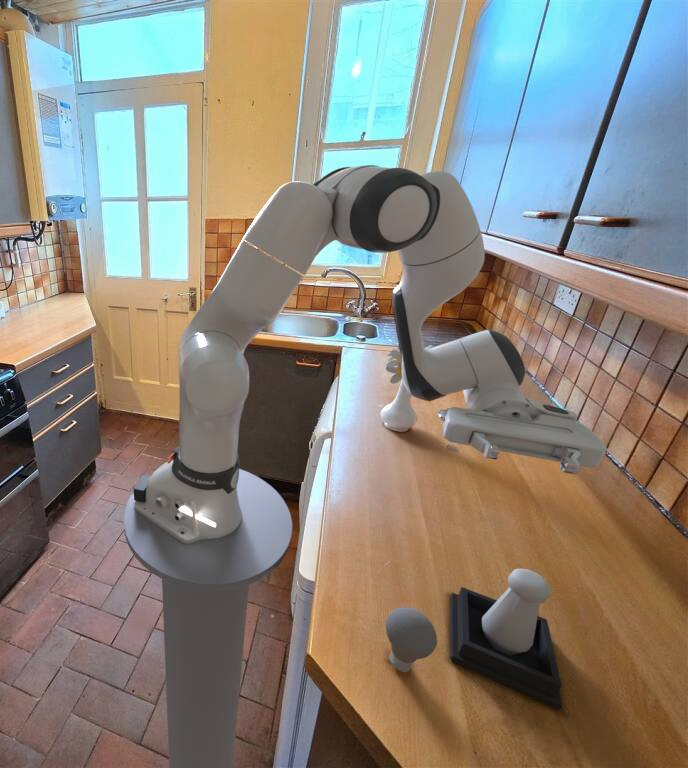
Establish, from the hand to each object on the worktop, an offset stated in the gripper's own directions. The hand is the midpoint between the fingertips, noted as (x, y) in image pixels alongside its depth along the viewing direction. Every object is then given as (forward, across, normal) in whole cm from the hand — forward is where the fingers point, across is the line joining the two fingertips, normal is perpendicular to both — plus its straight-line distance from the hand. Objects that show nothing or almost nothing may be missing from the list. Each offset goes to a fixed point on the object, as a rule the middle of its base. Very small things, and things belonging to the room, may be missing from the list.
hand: (531, 462), depth 59 cm
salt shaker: (+12, 0, +24) cm, 27 cm away
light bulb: (+21, -13, +25) cm, 35 cm away
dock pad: (+12, 0, +25) cm, 28 cm away
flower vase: (-51, -10, +25) cm, 58 cm away
